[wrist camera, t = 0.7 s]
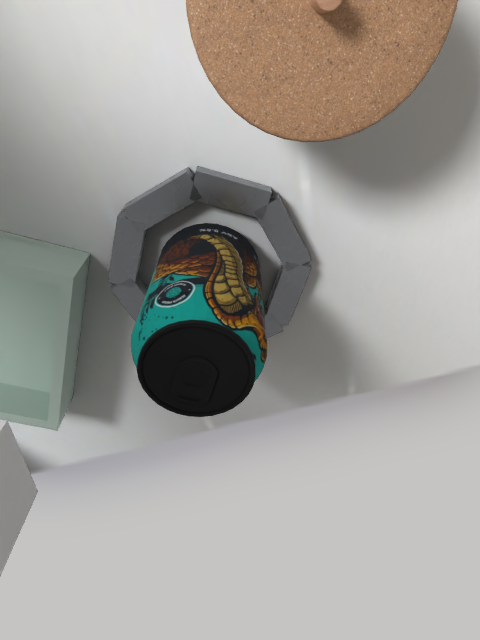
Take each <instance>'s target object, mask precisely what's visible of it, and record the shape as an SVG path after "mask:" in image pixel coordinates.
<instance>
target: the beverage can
mask: <svg viewBox="0 0 480 640" xmlns="http://www.w3.org/2000/svg"><path fill="white" fill-rule="evenodd" d="M131 351H132V356H133V361H134V363H135V365H136V368H137V373H138V379H139V381H140V383H141V386H142V388H143V389H144V391H145V392H146V393H147V395H148V396H149V397H150V398H151V399H152V400H153V401H155V402H156V403H157V404H158V405H160V406H162V407H163V408H165V409H167V410H169V411H172V412H174V413H177V414H181V415H186V416H195V417H204V416H213V415H217V414H220V413H224V412H226V411H228V410H230V409H232V408H234V407H235V406H237V405H238V404H240V403H241V402H242V401H243V400H244V399H245V398H246V397H247V396H248V394H249V392H250V391H251V389H252V387H253V384H254V382H255V381H256V379H257V378H258V377H259V375H260V373H261V371H262V369H263V367H264V364H265V360H266V356H267V339H266V328H265V317H264V306H263V295H262V284H261V273H260V265H259V260H258V256H257V254H256V252H255V250H254V248H253V247H252V245H251V244H250V243H249V242H248V240H247V239H246V238H244V237H243V236H242V235H241V234H239V233H238V232H236V231H235V230H233V229H231V228H229V227H226V226H222V225H219V224H209V223H204V224H196V225H192V226H189V227H186V228H184V229H182V230H181V231H179V232H177V233H176V234H174V235H173V236H172V237H171V238H170V239H169V240H168V241H167V243H166V244H165V246H164V247H163V249H162V251H161V254H160V257H159V260H158V263H157V265H156V268H155V271H154V274H153V277H152V279H151V282H150V285H149V288H148V291H147V293H146V296H145V299H144V302H143V304H142V307H141V310H140V313H139V316H138V318H137V321H136V324H135V327H134V330H133V333H132V338H131Z"/></svg>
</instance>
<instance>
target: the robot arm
mask: <svg viewBox="0 0 480 640" xmlns="http://www.w3.org/2000/svg"><path fill="white" fill-rule="evenodd" d="M37 492H38V491H37V489H36V486H35V484H34V481H33V479H32V477H31V474H30V472H29V470H28V467H27V465H26V463H25V460H24V458H23V456H22V453H21V451H20V449H19V447H18V444H17V442H16V440H15V437H14V435H13V433H12V430H11V428H10V426H9V423H8V421H7V420H0V576H1V573H2V571H3V569H4V566H5V564H6V562H7V560H8V558H9V555H10V553H11V551H12V549H13V546H14V544H15V542H16V539H17V537H18V535H19V533H20V530H21V528H22V526H23V524H24V521H25V519H26V517H27V515H28V512H29V510H30V508H31V506H32V503H33V501H34V499H35V497H36V494H37Z"/></svg>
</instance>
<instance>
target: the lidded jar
mask: <svg viewBox="0 0 480 640" xmlns="http://www.w3.org/2000/svg"><path fill="white" fill-rule="evenodd" d="M457 2H458V0H186V8H187V17H188V22H189V27H190V32H191V37H192V40H193V43H194V46H195V49H196V52H197V55H198V58H199V61H200V63H201V65H202V67H203V69H204V71H205V73H206V75H207V77H208V79H209V81H210V82H211V84H212V85H213V86H214V88H215V89H216V91H217V92H218V94H219V95H220V97H221V98H222V99H223V100H224V101H225V102H226V103H227V104H228V105H229V106H230V107H231V108H232V110H233V111H234V112H235V113H237V114H238V115H239V116H241V117H242V118H243V119H244V120H246V121H247V122H248V123H250V124H251V125H253V126H255V127H257V128H259V129H260V130H262V131H264V132H266V133H268V134H271V135H274V136H277V137H280V138H283V139H288V140H294V141H300V142H323V141H328V140H334V139H340V138H343V137H346V136H349V135H352V134H355V133H357V132H360V131H362V130H364V129H366V128H367V127H369V126H371V125H373V124H375V123H377V122H378V121H380V120H381V119H383V118H384V117H385V116H387V115H388V114H389V113H391V112H392V111H394V110H395V109H396V108H397V107H398V106H399V105H400V104H401V103H402V102H403V101H404V100H405V99H406V98H407V97H409V96H410V94H411V93H412V92H413V91H414V90H415V88H416V87H417V86H418V85H419V83H420V82H421V81H422V80H423V79H424V77H425V76H426V74H427V73H428V71H429V69H430V68H431V66H432V65H433V63H434V61H435V60H436V58H437V56H438V54H439V52H440V50H441V48H442V46H443V44H444V41H445V39H446V37H447V35H448V32H449V29H450V26H451V23H452V20H453V17H454V14H455V11H456V7H457Z"/></svg>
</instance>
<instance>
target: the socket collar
mask: <svg viewBox="0 0 480 640" xmlns="http://www.w3.org/2000/svg"><path fill="white" fill-rule="evenodd" d="M271 194H272V190H271V187H269V186H266V185H262V184H259V183H255V182H252V181H249V180H245V179H242V178H238V177H235V176H231V175H228V174H224V173H221V172H217V171H214V170H210V169H207V168H203V167H200V166H197V169H196V173H195V177H194V175H193V174H192V172H191V170H190V169H189V167H188V168H186V169H184V170H182V171H181V172H179V173H177V174H176V175H174V176H172V177H171V178H169V179H167V180H166V181H164V182H162V183H161V184H159V185H157V186H155V187H154V188H152V189H150V190H149V191H147V192H145V193H144V194H142V195H140V196H139V197H137V198H135V199H133V200H132V201H130V202H128V203H127V204H126V205H125V206H124V208H123V209H122V210H123V211H121V212H120V214H119V215H118V217H117V223H116V230H115V237H114V244H113V250H112V257H111V264H110V270H109V277H108V282H110V283H113V284H112V286H111V288H110V290H111V291H112V292H113V294H114V295H115V296H116V297H117V299H118V300H119V301H120V302H121V304H122V305H123V306H124V307H125V309H126V310H127V311H128V312H129V314H130V315H131V316H132V317H133V319H134V320H135V321H137V318H138V316H139V313H140V310H141V307H142V304H143V302H144V299H145V296H146V293H147V291H148V288H147V286H146V285H145V284H144V282H143V281H142V280H141V278H140V277H139V276H138V273H139V268H140V262H141V257H142V251H143V246H144V241H145V235H146V230H147V229H148V228H150V227H151V226H153V225H155V224H157V223H158V222H160V221H162V220H164V219H165V218H167V217H169V216H171V215H173V214H174V213H176V212H178V211H180V210H181V209H183V208H185V207H187V206H188V205H190V204H192V203H194V202H195V201H198V202H202V203H205V204H209V205H213V206H216V207H220V208H223V209H227V210H231V211H234V212H238V213H242V214H245V215H249V216H253V217H256V218H257V219H258V221H259V223H260V224H261V226H262V228H263V230H264V232H265V233H266V235H267V237H268V239H269V241H270V242H271V244H272V246H273V248H274V250H275V251H276V253H277V255H278V257H279V259H280V260H281V262H282V263H281V266H280V268H279V271H278V274H277V277H276V280H275V282H274V285H273V288H272V291H271V293H270V296H269V299H268V302H267V304H266V307H264V317H265V328H266V338H268V337H271V336H273V335H275V334H277V333H279V332H282V331H283V327H282V324H284V325H289V323H290V320H291V318H292V315H293V313H294V310H295V308H296V305H297V303H298V300H299V298H300V295H301V293H302V290H303V288H304V285H305V283H306V280H307V278H308V275H309V273H310V270H311V265H310V262H309V261H310V260H311V258H310V255H309V252H308V250H307V248H306V246H305V244H304V242H303V241H302V239H301V237H300V235H299V233H298V231H297V229H296V227H295V225H294V223H293V221H292V219H291V217H290V215H289V213H288V212H287V210H286V208H285V206H284V204H283V202H282V200H281V198H280V196H279V194H278V193H276V194H274V195H272V196H271Z"/></svg>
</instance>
